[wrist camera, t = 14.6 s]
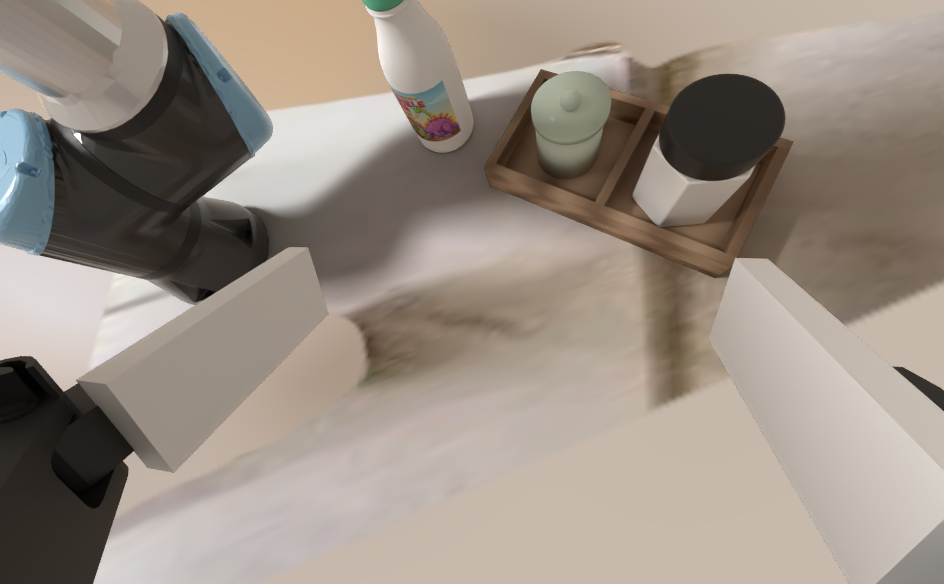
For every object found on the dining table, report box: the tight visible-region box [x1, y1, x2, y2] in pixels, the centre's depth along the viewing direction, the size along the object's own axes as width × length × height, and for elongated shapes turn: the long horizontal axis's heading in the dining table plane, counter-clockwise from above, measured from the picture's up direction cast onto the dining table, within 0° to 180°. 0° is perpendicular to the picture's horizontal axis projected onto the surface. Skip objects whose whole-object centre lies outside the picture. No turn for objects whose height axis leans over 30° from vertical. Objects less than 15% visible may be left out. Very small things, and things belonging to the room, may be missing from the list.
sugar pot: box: [531, 71, 611, 179], centre depth 38 cm, size 8×8×10 cm
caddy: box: [484, 69, 793, 278], centre depth 40 cm, size 27×14×4 cm, turn 60°
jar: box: [632, 74, 785, 227], centre depth 34 cm, size 9×8×12 cm
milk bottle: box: [362, 0, 474, 153], centre depth 39 cm, size 8×8×20 cm
